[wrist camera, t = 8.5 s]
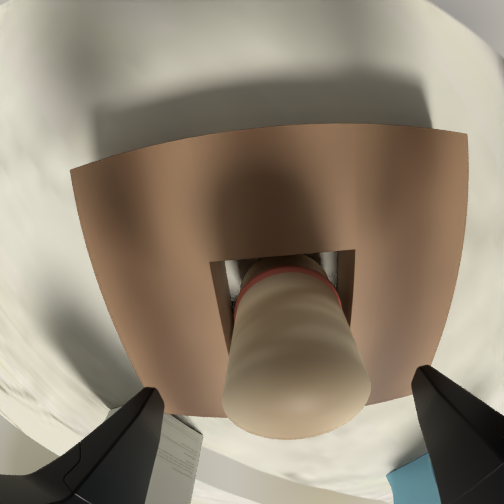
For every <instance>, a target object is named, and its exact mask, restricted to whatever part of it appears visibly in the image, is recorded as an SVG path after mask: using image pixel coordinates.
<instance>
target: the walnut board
mask: <svg viewBox="0 0 504 504" xmlns="http://www.w3.org/2000/svg"><path fill="white" fill-rule="evenodd" d="M70 174H71V180H72V186H73V191H74V196H75V201H76V206H77V211H78V215H79V219H80V223H81V227H82V231H83V235H84V239H85V243H86V246H87V250H88V253H89V257H90V260H91V263H92V266H93V269H94V273H95V276H96V279H97V282H98V284H99V287H100V290H101V293H102V296H103V298H104V301H105V304H106V306H107V309H108V311H109V314H110V316H111V319H112V321H113V324H114V326H115V328H116V331H117V333H118V335H119V338H120V340H121V342H122V344H123V346H124V349H125V351H126V353H127V355H128V357H129V359H130V361H131V363H132V365H133V367H134V369H135V371H136V373H137V375H138V377H139V379H140V381H141V383H142V384H143V386H144V388H145V387H155V388H157V389H158V391H159V393H160V395H161V397H162V399H163V400H164V404H165V408H164V413H167V414H176V415H186V416H200V417H220V418H228V417H227V415H226V414H225V412H224V409H223V406H222V395H223V389H224V383H225V377H226V371H227V365H228V359H229V353H230V347H231V341H232V336H233V330H234V314H233V309H232V303H231V298H230V292H229V286H228V280H227V274H226V268H225V262H224V261H225V260H237V259H249V258H261V257H273V256H284V255H296V254H308V253H319V252H330V251H338V290H337V294H338V296H339V298H340V301H341V306H342V311H343V313H344V315H345V318H346V320H347V323H348V325H349V327H350V330H351V332H352V335H353V337H354V340H355V342H356V345H357V347H358V350H359V352H360V355H361V357H362V360H363V362H364V365H365V368H366V370H367V373H368V375H369V378H370V382H371V392H370V396H369V398H368V401H367V402H366V404H365V406H367V405H372V404H376V403H381V402H385V401H389V400H393V399H397V398H401V397H405V396H408V395H412V394H413V393H412V389H411V382H412V379H413V377H414V374H415V371H416V369H417V368H418V367H419V366H422V365H430V366H431V364H432V361H433V358H434V356H435V353H436V350H437V347H438V345H439V342H440V339H441V336H442V333H443V330H444V326H445V323H446V320H447V316H448V313H449V309H450V306H451V302H452V298H453V294H454V290H455V285H456V281H457V276H458V271H459V266H460V261H461V255H462V249H463V242H464V234H465V226H466V216H467V203H468V178H469V162H468V137H467V134H464V133H459V132H452V131H446V130H439V129H431V128H422V127H412V126H400V125H385V124H359V123H327V124H300V125H284V126H272V127H261V128H251V129H243V130H235V131H228V132H221V133H214V134H208V135H202V136H196V137H191V138H186V139H181V140H176V141H171V142H166V143H162V144H157V145H153V146H149V147H145V148H141V149H137V150H133V151H129V152H125V153H122V154H118V155H115V156H111V157H108V158H105V159H101V160H98V161H95V162H92V163H89V164H86V165H83V166H80V167H77V168H74V169H71V170H70Z"/></svg>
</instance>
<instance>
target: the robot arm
mask: <svg viewBox="0 0 504 504" xmlns="http://www.w3.org/2000/svg"><path fill="white" fill-rule="evenodd" d="M411 389H412V393H413V397H414V401H415V406H416V411H417V415H418V420H419V424H420V427H421V430H422V433H423V436H424V440H425V443H426V446H427V449H428V453H429V456H430V460H431V464H432V467H433V471H434V475H435V479H436V483H437V487H438V492H439V496H440V501H441V504H504V416H503V415H502V414H500V413H499V412H497V411H495V410H494V409H493V408H491V407H490V406H488V405H487V404H486V403H484V402H483V401H481V400H480V399H478V398H477V397H475V396H474V395H472V394H471V393H470V392H468V391H467V390H465V389H464V388H462V387H461V386H459V385H458V384H456V383H455V382H453V381H452V380H450V379H449V378H448V377H446V376H445V375H443V374H442V373H440V372H439V371H437V370H436V369H434V368H433V367H431V366H430V365H422V366H419V367H418V368H417V369H416V371H415V374H414V377H413V379H412V382H411ZM164 408H165V404H164V400H163V399H162V397H161V395H160V393H159V391H158V389H157V388H155V387H145V388H143V389H142V390H141V391H140V392H138V393H137V394H136V395H135V396H134V397H133V398H132V399H130V400H129V401H128V402H127V403H126V404H125V405H123V406H122V407H121V408H120V409H119V410H117V411H116V412H115V413H114V414H113V415H112V416H110V417H109V418H108V419H107V420H106V421H104V422H103V423H102V424H101V425H100V426H98V427H97V428H96V429H95V430H94V431H92V432H91V433H90V434H89V435H87V436H86V437H85V438H84V439H83V440H81V442H79V443H78V444H76V445H75V446H74V447H73V448H71V449H70V450H69V451H67V452H66V453H65V454H63V455H62V456H60V457H59V458H57V459H56V460H54V461H52V462H51V463H49V464H47V465H46V466H44V467H42V468H41V469H39V470H37V471H36V472H33V473H31V474H28V475H1V474H0V504H145V501H146V496H147V492H148V488H149V484H150V479H151V475H152V471H153V467H154V463H155V459H156V455H157V451H158V447H159V443H160V437H161V429H162V422H163V415H164Z"/></svg>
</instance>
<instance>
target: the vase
mask: <svg viewBox="0 0 504 504" xmlns="http://www.w3.org/2000/svg"><path fill="white" fill-rule="evenodd" d="M386 477H387V479H388V481H389V483H390V486H391V488H392V492H393V496H394V504H441V501H440V496H439V492H438V487H437V483H436V479H435V475H434V471H433V467H432V464H431V462H430V456H429V453H427V454H425V455H423V456H421V457H420V458H418V459H416V460H414V461H412V462H411V463H409V464H407V465H405V466H403V467H401V468H399V469H397V470H395V471H393V472H391V473H389V474H388V475H386Z"/></svg>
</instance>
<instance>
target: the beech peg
mask: <svg viewBox="0 0 504 504" xmlns="http://www.w3.org/2000/svg"><path fill="white" fill-rule="evenodd" d="M370 392H371V382H370V378H369V375H368V373H367V370H366V368H365V365H364V362H363V360H362V357H361V355H360V352H359V350H358V347H357V345H356V342H355V340H354V337H353V335H352V332H351V330H350V327H349V325H348V323H347V320H346V318H345V315H344V313H343V311H342V306H341V301H340V298H339V296H338V294H337V291H336V289H335V288H334V286H333V284H332V283H331V282H330V281H329V279H328V277H327V275H326V273H325V271H324V270H323V268H322V267H321V266H320V265H319V264H318V263H317V262H316V261H314V260H313V259H312V258H310V257H308V256H305V255H303V254H296V255H284V256H273V257H264V258H262V259H260V260H259V261H258V262H256V263H255V264H254V265H253V266H252V267H251V268H250V269H249V270H248V271H247V273H246V275H245V276H244V278H243V281H242V284H241V289H240V293H239V295H238V298H237V301H236V305H235V310H234V330H233V336H232V341H231V347H230V353H229V359H228V365H227V371H226V377H225V383H224V389H223V395H222V406H223V409H224V412H225V414H226V415H227V417H228V418H229V419H230V420H231V421H232V422H233V423H234V424H235V425H237V426H238V427H239V428H241V429H243V430H245V431H247V432H249V433H251V434H254V435H257V436H261V437H265V438H271V439H280V440H292V439H303V438H309V437H314V436H318V435H321V434H324V433H327V432H330V431H332V430H334V429H336V428H338V427H340V426H342V425H344V424H345V423H347V422H348V421H350V420H351V419H352V418H354V417H355V416H356V415H357V414H358V413H359V412H360V411H361V410H362V408H363V407H364V406H365V404H366V402H367V401H368V398H369V396H370Z"/></svg>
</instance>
